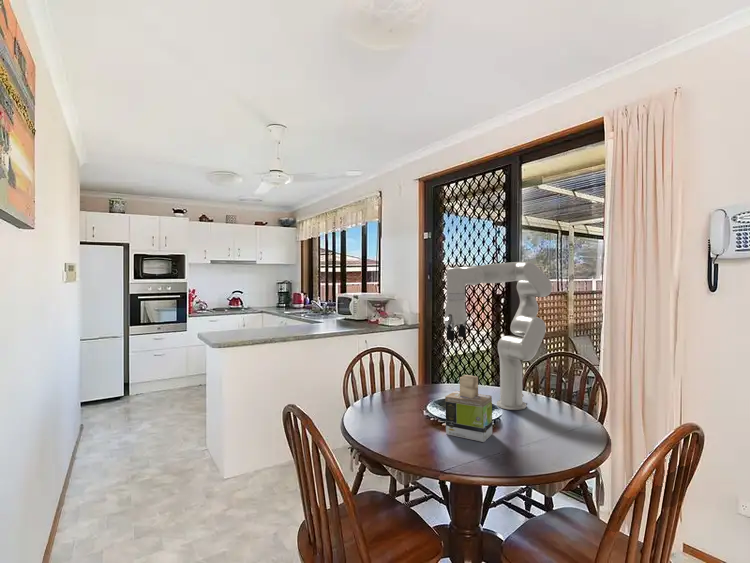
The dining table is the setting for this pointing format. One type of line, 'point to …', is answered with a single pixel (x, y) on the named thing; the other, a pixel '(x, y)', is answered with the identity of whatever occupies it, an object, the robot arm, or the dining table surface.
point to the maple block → (469, 386)
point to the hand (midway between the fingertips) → (456, 338)
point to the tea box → (469, 416)
